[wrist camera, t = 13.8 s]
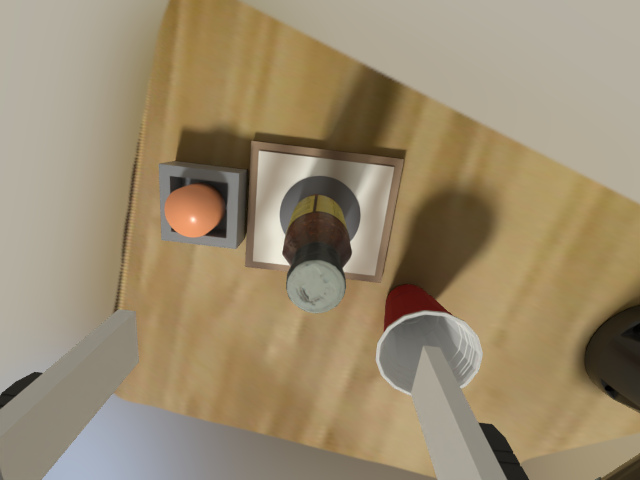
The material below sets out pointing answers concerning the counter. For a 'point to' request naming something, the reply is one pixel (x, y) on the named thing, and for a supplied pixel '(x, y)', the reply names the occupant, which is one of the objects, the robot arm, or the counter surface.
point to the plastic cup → (423, 338)
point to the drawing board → (328, 180)
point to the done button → (194, 209)
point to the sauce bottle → (316, 254)
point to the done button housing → (230, 188)
